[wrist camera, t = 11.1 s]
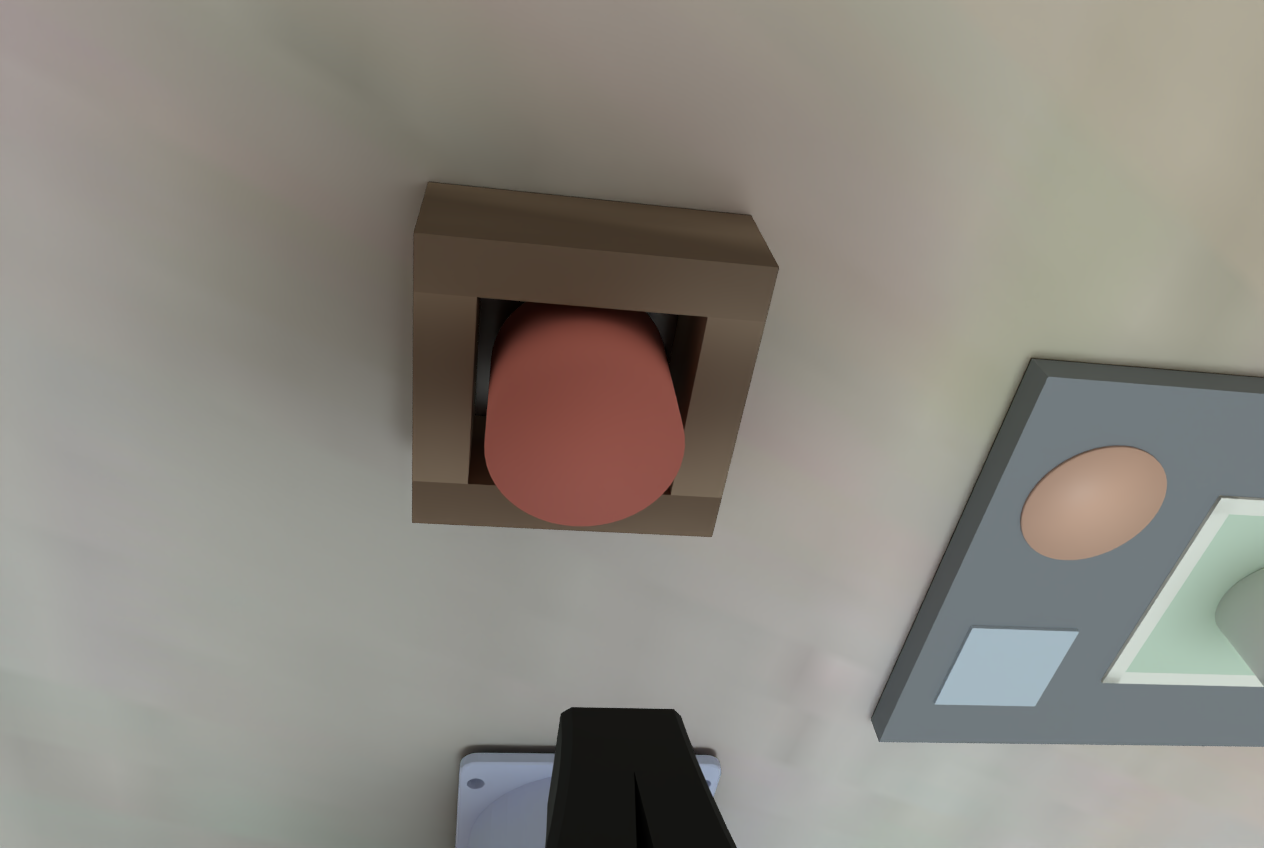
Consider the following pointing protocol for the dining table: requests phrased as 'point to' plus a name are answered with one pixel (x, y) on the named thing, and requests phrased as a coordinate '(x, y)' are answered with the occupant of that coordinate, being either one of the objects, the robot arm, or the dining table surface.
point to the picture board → (1096, 570)
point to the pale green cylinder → (1245, 620)
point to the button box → (592, 277)
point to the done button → (581, 414)
